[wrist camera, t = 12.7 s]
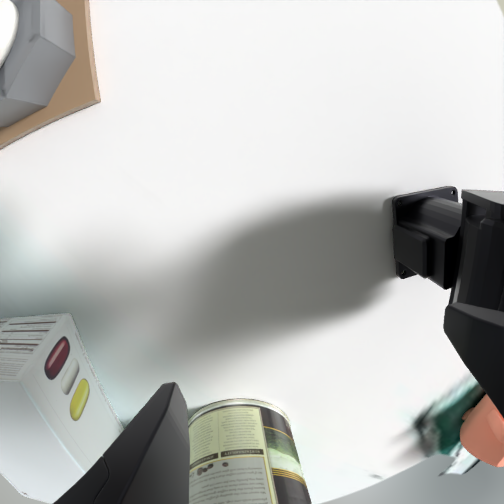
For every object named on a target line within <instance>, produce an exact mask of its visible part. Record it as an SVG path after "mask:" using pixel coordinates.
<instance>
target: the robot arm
mask: <svg viewBox="0 0 504 504" xmlns="http://www.w3.org/2000/svg"><path fill="white" fill-rule="evenodd" d="M452 191H453V192H452ZM451 192H452V194H451ZM461 198H462V199H463V203H462V204H461V203H458V192H457V189H456V188H455V187H453V186H448V187H443V188H437V189H432V190H427V191H422V192H416V193H411V194H406V195H401V196H397V197H395V198H394V199H393V201H392V207H393V218H394V227H393V239H394V257H395V259H396V273H397V276H398V277H399V278H401V279H405V278H408V277H411V276H414V275H417V274H418V275H420V276H421V277H423V278H428V279H430V280H431V281H433V282H434V283H436V284H437V285H439V286H440V287H442V288H443V289H444V290H447V289H449V288H452V289H451V294H450V299H449V304H448V306H447V307H446V309H445V316H444V324H443V328H444V332H445V334H446V335H447V337H448V338H449V340H450V341H451V343H452V345H453V346H454V348H455V349H456V351H457V353H458V354H459V356H460V358H461V359H462V361H463V362H464V364H465V365H466V367H467V368H468V369H469V371H470V372H471V373H472V375H473V376H474V377H475V379H476V380H477V381H478V383H479V384H480V385H481V387H482V388H483V390H484V391H485V392H486V394H487V395H488V397H489V398H490V399H491V401H492V402H493V404H494V405H495V407H496V408H497V409H498V411H499V412H500V414H501V415H502V417H503V418H504V192H503V191H486V190H462V194H461ZM399 201H400V202H401V203H400V206H398V202H399ZM403 270H404V272H403V274H401V273H402V271H403ZM189 475H190V439H189V428H188V416H187V405H186V402H185V399H184V397H183V395H182V393H181V391H180V389H179V387H178V385H177V384H176V383H175V382H172V383H165V384H163V385H161V387H160V388H159V389H158V390H157V391H156V393H155V394H154V395H153V396H152V397H151V398H150V400H149V401H148V402H147V403H146V404H145V406H144V407H143V408H142V409H141V410H140V411H139V413H138V414H137V415H136V416H135V417H134V418H133V420H132V421H131V422H130V423H129V424H128V425H127V427H126V428H125V429H124V430H123V431H122V432H121V434H120V435H119V436H118V437H117V438H116V439H115V441H114V442H113V443H112V444H111V445H110V446H109V448H108V449H107V450H106V451H105V452H104V453H103V456H101V457H100V458H99V459H98V460H97V461H96V462H95V464H94V465H93V466H92V467H91V468H90V469H89V470H88V471H87V472H86V473H85V474H84V475H83V476H82V477H81V478H80V479H79V480H78V481H77V482H76V483H75V484H74V485H73V486H72V487H71V488H70V489H69V490H67V491H66V492H65V493H64V494H63V495H62V496H61V497H60V498H59V499H57V500H56V501H55V502H54V503H53V504H189Z"/></svg>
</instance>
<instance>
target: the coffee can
mask: <svg viewBox="0 0 504 504" xmlns="http://www.w3.org/2000/svg"><path fill="white" fill-rule="evenodd" d="M188 428H189V439H190V475H189V504H312V503H311V499H310V496H309V493H308V489H307V486H306V482H305V479H304V475H303V472H302V468H301V465H300V461H299V457H298V454H297V450H296V447H295V443H294V440H293V436H292V432H291V427H290V422H289V419H288V417H287V416H286V415H285V414H284V413H283V412H282V411H281V410H280V409H278V408H277V407H275V406H273V405H271V404H269V403H266V402H262V401H258V400H253V399H232V400H225V401H220V402H217V403H213V404H210V405H208V406H206V407H204V408H202V409H200V410H199V411H197V412H196V413H195V414H194V415H193V416H192V417H191V418H190V419H189V421H188Z"/></svg>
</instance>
